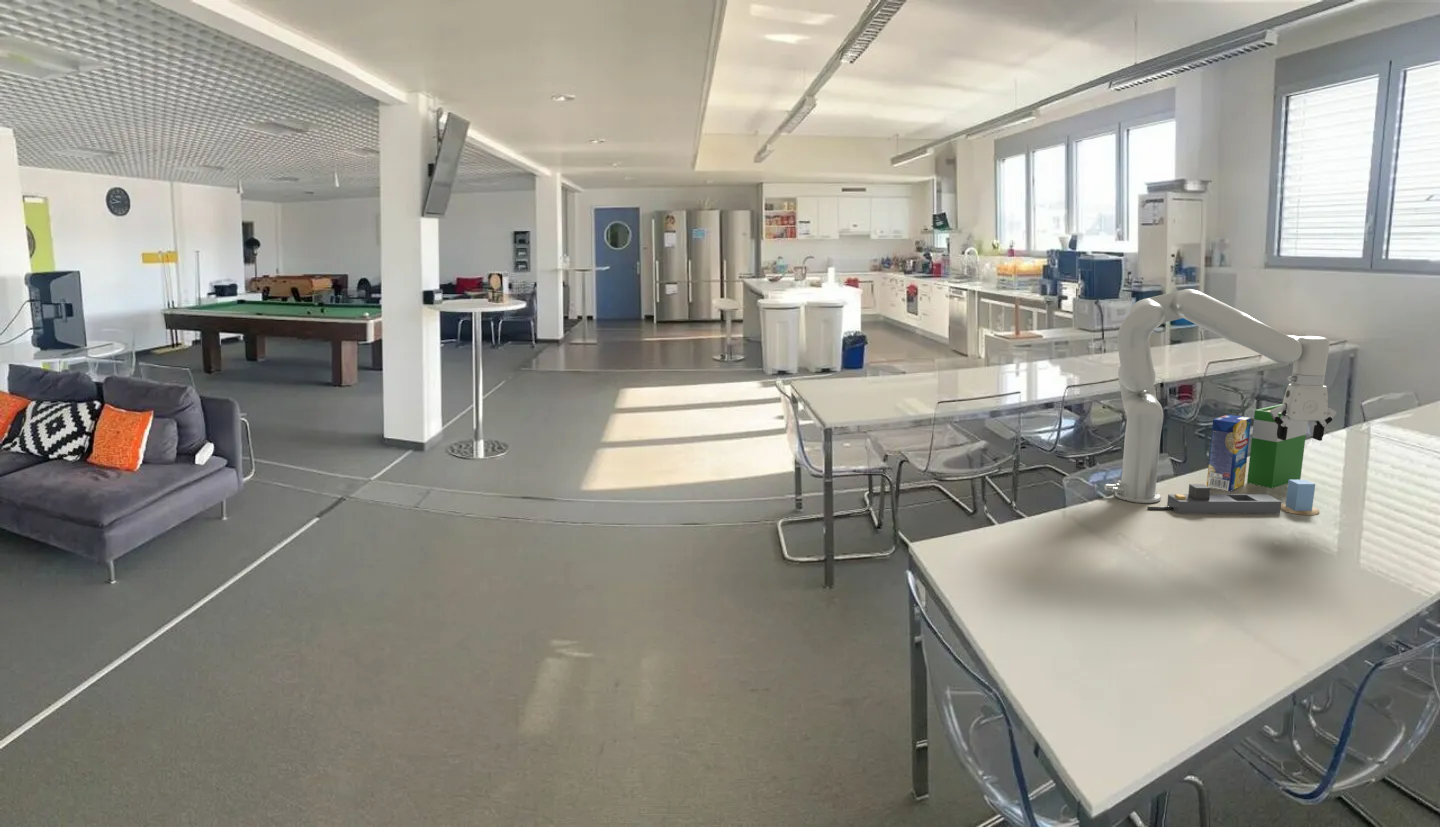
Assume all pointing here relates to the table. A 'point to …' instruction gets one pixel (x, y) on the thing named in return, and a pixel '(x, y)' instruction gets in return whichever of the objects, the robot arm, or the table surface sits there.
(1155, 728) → the table surface
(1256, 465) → the hardback book
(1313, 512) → the coaster
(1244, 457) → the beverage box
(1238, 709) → the table surface
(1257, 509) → the power strip
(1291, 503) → the block
